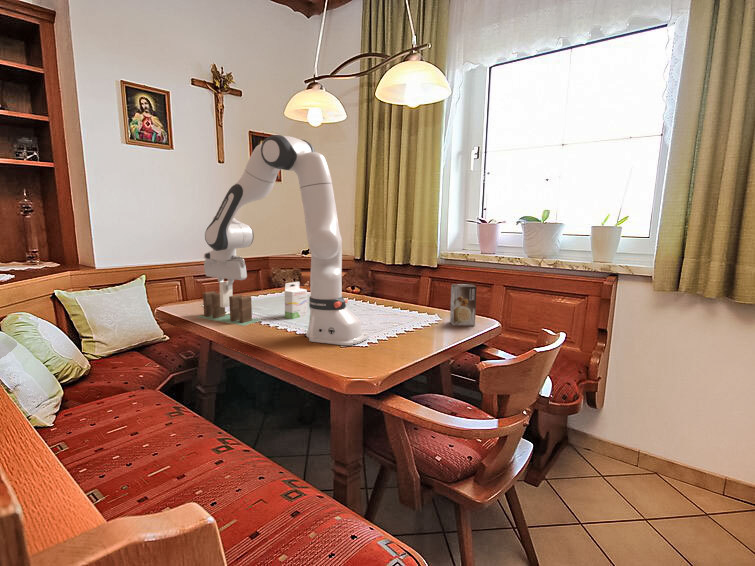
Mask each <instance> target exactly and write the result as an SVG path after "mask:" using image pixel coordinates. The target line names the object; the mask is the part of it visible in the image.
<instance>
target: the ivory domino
mask: <svg viewBox="0 0 755 566" xmlns="http://www.w3.org/2000/svg"><path fill="white" fill-rule="evenodd" d="M228 282H229V281H227V280H226V281H224V282H220V283H219V282H218V283H219V293H220V307H225V308H228V307H230V303H229V297H230V296H234V295H233V288H232V289H230V290H228V289H226V285H228Z"/></svg>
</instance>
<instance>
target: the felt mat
mask: <svg viewBox="0 0 755 566" xmlns="http://www.w3.org/2000/svg"><path fill="white" fill-rule="evenodd" d="M197 318H198V319H203V320H204V319H205V320H211V321H215V322H221V323H227V324H232V325H237V326H238V325H239V326H242V327H245V326H248V325H251V324H254V323H257V322H260V321H262V319H258V318H253V317H252V321H248V322H245V323H239V320H237V321H230V313H229V314H227V313H225V316H223V317H219V318H213V316H209V317H205V316H204V314H201V315H198V316H197Z"/></svg>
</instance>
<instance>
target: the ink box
mask: <svg viewBox="0 0 755 566" xmlns="http://www.w3.org/2000/svg"><path fill="white" fill-rule="evenodd" d="M300 285H301V283H300V281H293V282H286V283H285V284H284V318H286V319H291V320H294V319H297V318H302V317H306V316H308V289H305V288H300Z"/></svg>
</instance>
